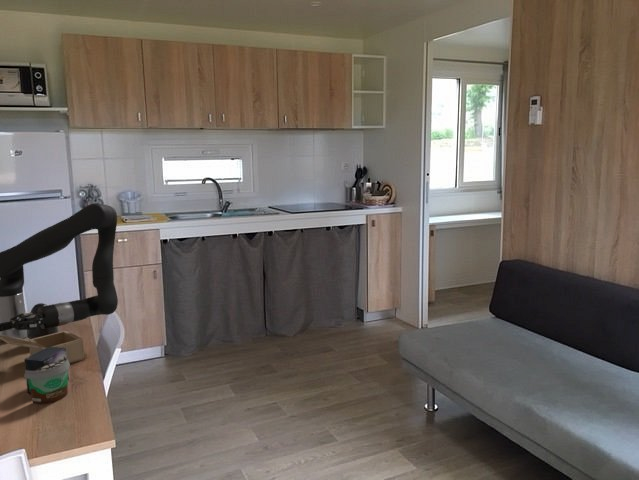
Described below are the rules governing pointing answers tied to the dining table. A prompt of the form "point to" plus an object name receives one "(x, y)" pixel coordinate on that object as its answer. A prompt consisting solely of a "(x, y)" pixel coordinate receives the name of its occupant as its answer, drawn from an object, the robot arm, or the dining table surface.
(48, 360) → the small box
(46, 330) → the black egg-shaped piece
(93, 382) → the dining table surface
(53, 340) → the carton
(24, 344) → the flap
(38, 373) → the food container
